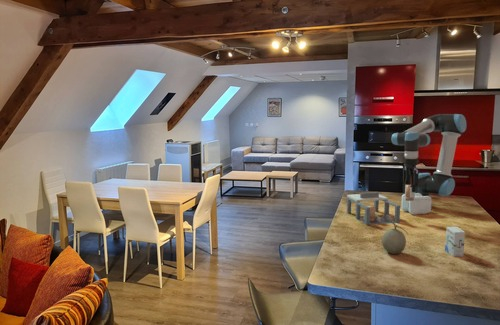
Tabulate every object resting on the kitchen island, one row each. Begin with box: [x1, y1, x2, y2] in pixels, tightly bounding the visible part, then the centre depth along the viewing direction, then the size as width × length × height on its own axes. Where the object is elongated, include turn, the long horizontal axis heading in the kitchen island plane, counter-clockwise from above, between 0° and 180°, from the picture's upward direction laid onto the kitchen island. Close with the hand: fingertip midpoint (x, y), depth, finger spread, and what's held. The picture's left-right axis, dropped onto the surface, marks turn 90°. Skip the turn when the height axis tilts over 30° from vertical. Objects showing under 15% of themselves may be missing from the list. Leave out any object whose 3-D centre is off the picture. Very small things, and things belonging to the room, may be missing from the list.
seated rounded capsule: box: [367, 204, 376, 222], centre depth 233 cm, size 5×5×9 cm
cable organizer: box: [400, 193, 432, 216], centre depth 252 cm, size 15×11×12 cm
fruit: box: [381, 219, 409, 255], centre depth 183 cm, size 10×12×15 cm
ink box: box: [444, 226, 466, 257], centre depth 182 cm, size 9×5×12 cm, turn 178°
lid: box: [346, 191, 389, 202], centre depth 246 cm, size 21×14×4 cm
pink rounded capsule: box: [406, 184, 414, 201], centre depth 234 cm, size 5×5×9 cm
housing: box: [346, 196, 401, 226], centre depth 240 cm, size 21×27×11 cm
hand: (409, 196), depth 234 cm, fingers closed on pink rounded capsule, 5 cm apart
